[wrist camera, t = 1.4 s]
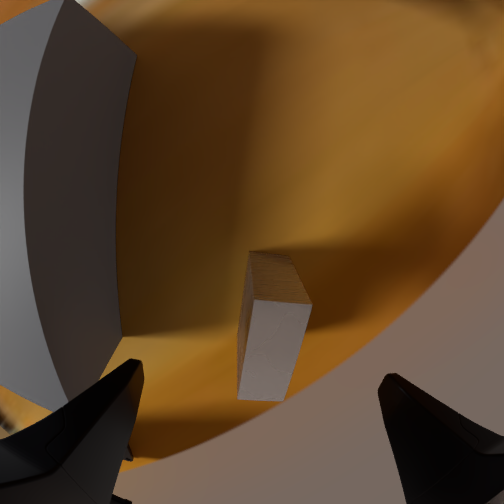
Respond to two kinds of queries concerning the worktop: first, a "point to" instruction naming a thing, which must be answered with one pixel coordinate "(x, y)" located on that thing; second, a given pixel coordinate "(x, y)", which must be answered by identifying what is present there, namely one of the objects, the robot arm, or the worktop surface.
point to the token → (270, 327)
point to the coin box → (59, 199)
